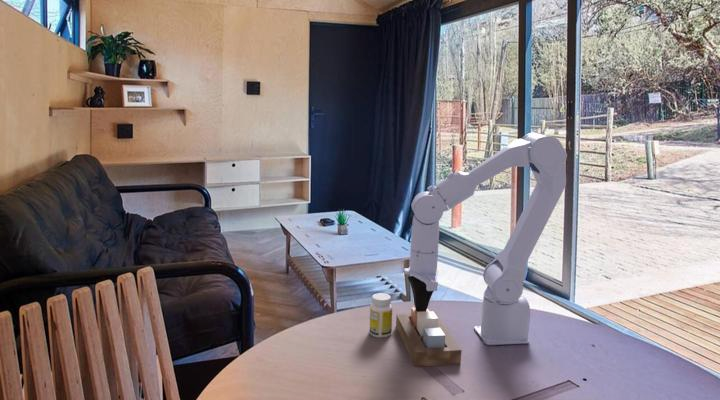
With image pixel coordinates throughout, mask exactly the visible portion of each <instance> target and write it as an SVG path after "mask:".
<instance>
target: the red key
mask: <svg viewBox="0 0 720 400" xmlns="http://www.w3.org/2000/svg"><path fill="white" fill-rule="evenodd" d="M410 308H411V309H410V314H411V323H412V324H413V325H417V311H416V309H415V306H412V307H410ZM419 312H431V310H429V307H427V310H426V311H419Z"/></svg>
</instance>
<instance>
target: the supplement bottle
mask: <svg viewBox="0 0 720 400" xmlns="http://www.w3.org/2000/svg"><path fill="white" fill-rule="evenodd" d="M371 297H372V298H371V304H370V306H369V334H370V335H371V336H373V337H375V338H387V337H389V336H390V335H391V334H392V329H393V328H392V327H393V306H392V305H393V304H391V303H392V297H391V295H390V294H388V293H384V292H377V293H375V294H373V295H372V296H371Z"/></svg>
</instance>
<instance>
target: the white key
mask: <svg viewBox="0 0 720 400" xmlns="http://www.w3.org/2000/svg"><path fill="white" fill-rule="evenodd" d="M435 313H436V312H434V311H430V312H417V330H418V332H419V334H420V335H421V336H423V330H424V328H438V318H437V316H436V315H435Z"/></svg>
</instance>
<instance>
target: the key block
mask: <svg viewBox="0 0 720 400" xmlns="http://www.w3.org/2000/svg"><path fill="white" fill-rule="evenodd" d="M434 313H435V315H436V316H437V318H438V328H441V330H442V331H443V333H444V334H445V348H425V346H424V344H423V336H421V335H420V334H419V332H418V330H417V325H413V324H412V323H411V313H403V314H402V313H401V314H399V313H398V314H396V317H395V318H396V319H395V320H396V321H395V328H396V330H397V332H398V334H399V336H400V338H401V340H402V343H403V345H404V347H405V349H406V351H407V353H408V355H409V357H410V359H411V361H412V363H413V365H414V367H416V368H417V367H437V366H439V367H440V366H451V365H452V366H456V365H461V362H462V349H461V346H459V344H458V343H457V341H456V340H455V338H454V337H453V335H452V334H451V333H450V331H449V330H448V328H447V326H445V324H444V322H443V321H442V319H441V318H440V317H439V315H438V314H437V312H434Z"/></svg>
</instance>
